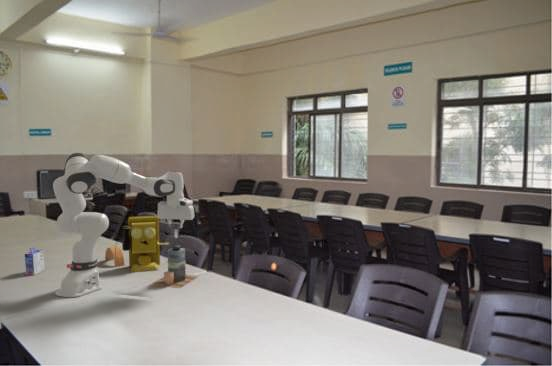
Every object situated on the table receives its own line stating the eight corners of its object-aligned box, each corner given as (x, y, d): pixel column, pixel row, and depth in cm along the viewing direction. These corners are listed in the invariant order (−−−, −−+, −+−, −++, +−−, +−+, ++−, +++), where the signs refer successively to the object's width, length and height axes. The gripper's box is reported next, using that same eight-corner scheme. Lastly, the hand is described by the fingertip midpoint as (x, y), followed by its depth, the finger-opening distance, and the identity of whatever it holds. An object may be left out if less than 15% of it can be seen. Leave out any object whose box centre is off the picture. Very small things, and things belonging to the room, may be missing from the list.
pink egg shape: (170, 285, 231) (170, 274, 230) (162, 285, 232) (161, 273, 231) (175, 282, 235) (175, 271, 235) (167, 282, 237) (166, 270, 236)
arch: (114, 267, 272) (114, 250, 271) (105, 260, 288) (104, 244, 287) (124, 265, 275) (123, 249, 274) (114, 259, 291) (113, 243, 290)
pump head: (172, 241, 232) (171, 225, 231) (165, 240, 233) (164, 225, 232) (181, 237, 241) (181, 222, 241) (174, 237, 242) (174, 222, 242)
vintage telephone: (113, 273, 258) (111, 221, 256) (115, 267, 272) (113, 217, 269) (169, 269, 267) (168, 219, 264) (168, 263, 280) (167, 215, 277)
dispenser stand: (180, 291, 227) (179, 252, 225) (148, 287, 232) (147, 250, 230) (199, 278, 248) (199, 243, 246) (170, 275, 253) (169, 241, 251)
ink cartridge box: (36, 270, 265) (35, 245, 264) (45, 270, 265) (43, 246, 263) (25, 275, 255) (23, 249, 254) (34, 275, 255) (33, 250, 254)
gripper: (154, 201, 238) (155, 227, 239) (190, 202, 233) (190, 229, 234) (160, 200, 244) (161, 225, 245) (195, 201, 239) (195, 227, 240)
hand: (175, 227), depth 239 cm, fingers closed on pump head, 4 cm apart
